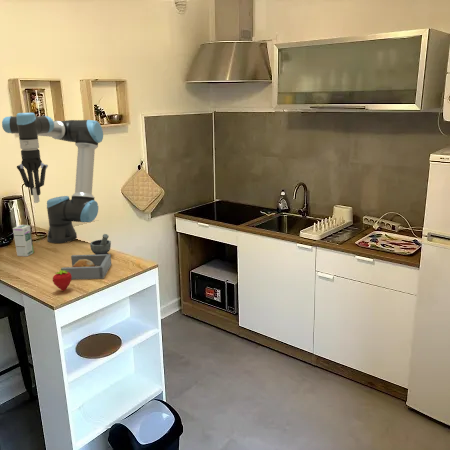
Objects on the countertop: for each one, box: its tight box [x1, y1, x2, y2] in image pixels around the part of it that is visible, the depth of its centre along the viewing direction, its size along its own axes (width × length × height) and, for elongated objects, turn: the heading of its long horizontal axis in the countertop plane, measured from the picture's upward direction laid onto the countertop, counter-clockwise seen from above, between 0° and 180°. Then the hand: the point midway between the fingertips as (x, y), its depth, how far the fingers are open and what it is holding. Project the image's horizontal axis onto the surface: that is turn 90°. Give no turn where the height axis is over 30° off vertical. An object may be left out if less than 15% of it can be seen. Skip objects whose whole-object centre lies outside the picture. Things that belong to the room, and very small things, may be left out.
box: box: [60, 253, 112, 281], centre depth 202 cm, size 17×18×5 cm
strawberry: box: [52, 269, 72, 292], centre depth 182 cm, size 6×8×10 cm
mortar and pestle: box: [89, 233, 112, 255], centre depth 220 cm, size 11×9×12 cm
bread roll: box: [73, 259, 96, 267], centre depth 201 cm, size 10×10×8 cm
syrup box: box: [12, 224, 35, 257], centre depth 224 cm, size 6×6×14 cm
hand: (36, 202), depth 205 cm, fingers closed
